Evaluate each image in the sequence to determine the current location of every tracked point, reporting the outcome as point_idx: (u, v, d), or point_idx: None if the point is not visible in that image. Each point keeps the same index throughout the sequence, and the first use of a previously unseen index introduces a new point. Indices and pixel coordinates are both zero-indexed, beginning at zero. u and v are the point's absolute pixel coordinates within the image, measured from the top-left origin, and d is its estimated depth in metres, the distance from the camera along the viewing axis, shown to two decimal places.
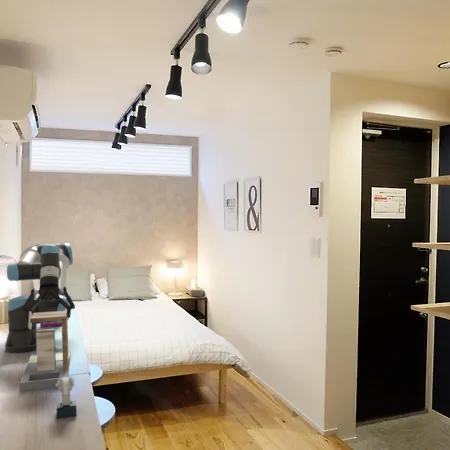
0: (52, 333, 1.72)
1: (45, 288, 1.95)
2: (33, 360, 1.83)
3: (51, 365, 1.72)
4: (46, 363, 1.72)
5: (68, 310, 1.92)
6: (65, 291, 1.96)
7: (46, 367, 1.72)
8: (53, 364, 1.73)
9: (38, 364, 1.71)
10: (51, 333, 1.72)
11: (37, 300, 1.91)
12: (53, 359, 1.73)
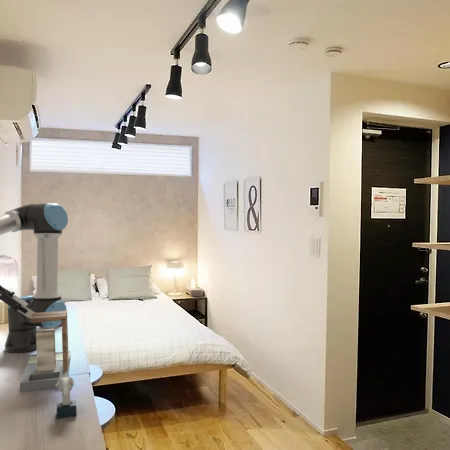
0: (52, 333, 1.72)
1: None
2: (33, 360, 1.83)
3: (51, 365, 1.72)
4: (46, 363, 1.72)
5: (19, 310, 1.74)
6: None
7: (46, 367, 1.72)
8: (53, 364, 1.73)
9: (38, 364, 1.71)
10: (51, 333, 1.72)
11: None
12: (53, 359, 1.73)
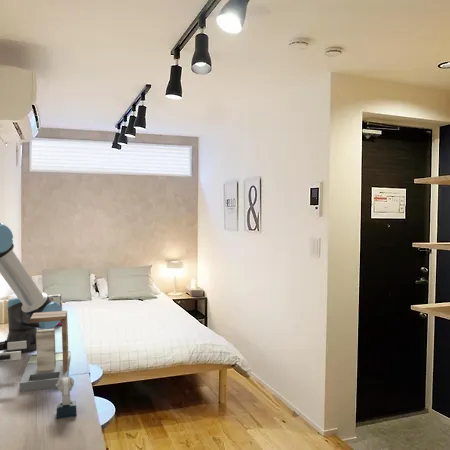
0: (52, 333, 1.72)
1: None
2: (33, 360, 1.83)
3: (51, 365, 1.72)
4: (46, 363, 1.72)
5: None
6: None
7: (46, 367, 1.72)
8: (53, 364, 1.73)
9: (38, 364, 1.71)
10: (51, 333, 1.72)
11: None
12: (53, 359, 1.73)
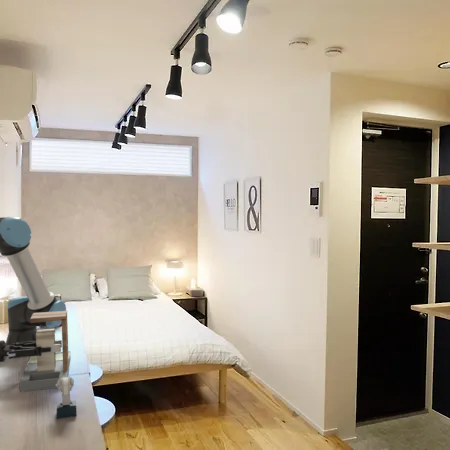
0: (52, 333, 1.72)
1: None
2: (33, 360, 1.83)
3: (50, 365, 1.72)
4: (46, 363, 1.72)
5: None
6: None
7: (46, 367, 1.72)
8: (53, 364, 1.73)
9: (38, 364, 1.71)
10: (51, 333, 1.72)
11: None
12: (53, 359, 1.73)
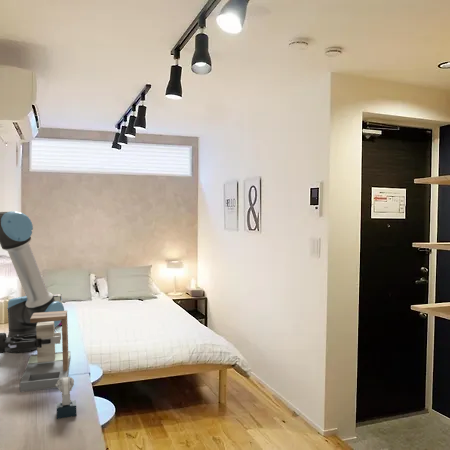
0: (52, 325, 1.78)
1: None
2: (33, 360, 1.83)
3: (50, 357, 1.78)
4: (46, 355, 1.78)
5: None
6: None
7: (46, 359, 1.78)
8: (53, 355, 1.78)
9: (38, 355, 1.77)
10: (51, 325, 1.78)
11: None
12: (53, 351, 1.78)
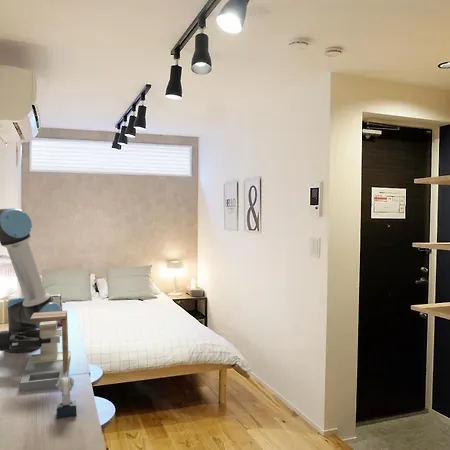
0: (54, 325, 1.84)
1: None
2: (33, 360, 1.83)
3: (53, 355, 1.84)
4: (49, 353, 1.84)
5: None
6: None
7: (49, 357, 1.84)
8: (55, 354, 1.85)
9: (41, 354, 1.83)
10: (53, 325, 1.84)
11: None
12: (55, 349, 1.85)
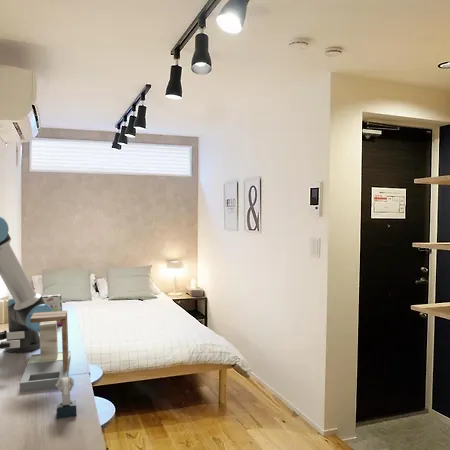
0: (54, 325, 1.84)
1: None
2: (33, 360, 1.83)
3: (53, 355, 1.84)
4: (49, 353, 1.84)
5: None
6: None
7: (49, 357, 1.84)
8: (55, 354, 1.85)
9: (41, 354, 1.83)
10: (53, 325, 1.84)
11: None
12: (55, 349, 1.85)
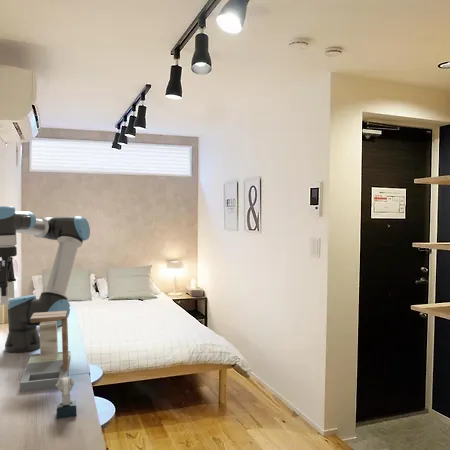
0: (54, 325, 1.84)
1: None
2: (33, 360, 1.83)
3: (53, 355, 1.84)
4: (49, 353, 1.84)
5: None
6: None
7: (49, 357, 1.84)
8: (55, 354, 1.85)
9: (41, 354, 1.83)
10: (53, 325, 1.84)
11: None
12: (55, 349, 1.85)
